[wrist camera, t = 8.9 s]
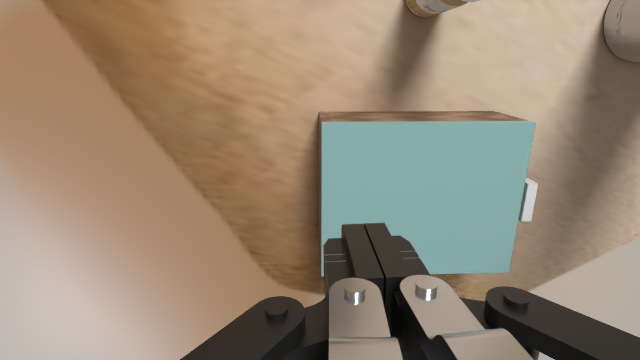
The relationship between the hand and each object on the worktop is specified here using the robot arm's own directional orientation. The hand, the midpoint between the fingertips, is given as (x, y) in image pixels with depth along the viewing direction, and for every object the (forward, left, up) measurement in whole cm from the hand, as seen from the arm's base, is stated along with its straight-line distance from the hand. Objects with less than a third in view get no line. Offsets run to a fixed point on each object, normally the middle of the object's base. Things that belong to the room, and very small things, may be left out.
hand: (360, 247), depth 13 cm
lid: (-10, +7, -24) cm, 27 cm away
